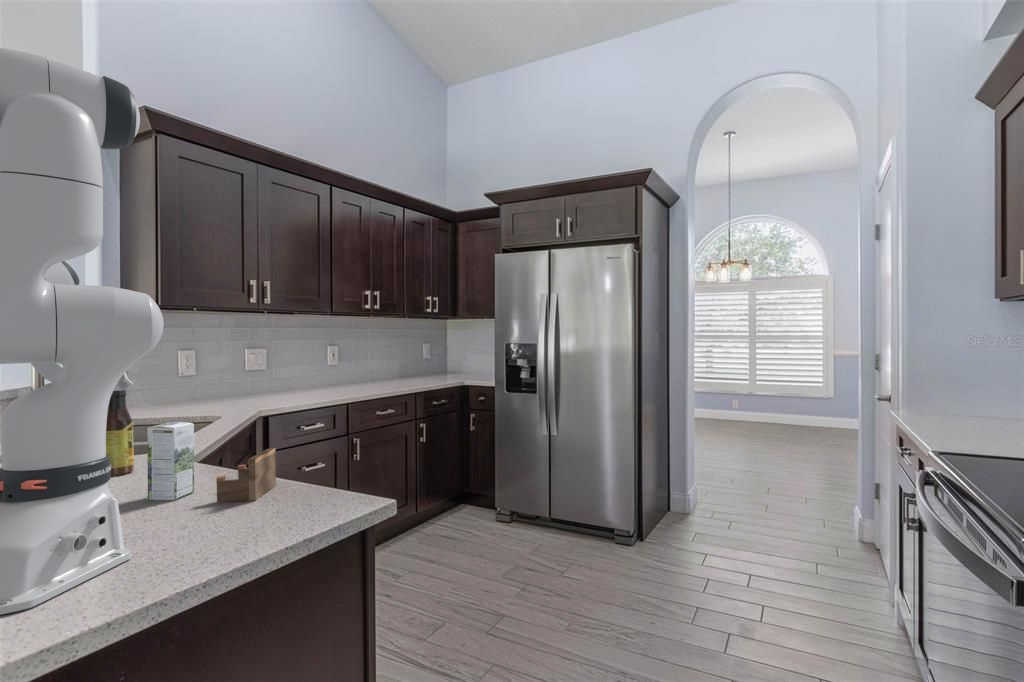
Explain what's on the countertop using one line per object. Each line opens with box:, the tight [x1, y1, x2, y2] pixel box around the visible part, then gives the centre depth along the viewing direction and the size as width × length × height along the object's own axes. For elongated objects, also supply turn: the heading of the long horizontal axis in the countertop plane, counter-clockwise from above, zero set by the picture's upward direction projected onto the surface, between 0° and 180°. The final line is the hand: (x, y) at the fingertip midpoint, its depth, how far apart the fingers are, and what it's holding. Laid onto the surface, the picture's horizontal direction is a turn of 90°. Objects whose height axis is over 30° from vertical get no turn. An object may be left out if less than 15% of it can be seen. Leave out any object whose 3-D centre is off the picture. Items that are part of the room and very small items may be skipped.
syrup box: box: [146, 421, 195, 502], centre depth 106 cm, size 6×6×14 cm
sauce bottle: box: [106, 388, 135, 477], centre depth 126 cm, size 7×6×20 cm
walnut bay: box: [216, 447, 277, 503], centre depth 107 cm, size 11×7×8 cm
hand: (114, 389), depth 105 cm, fingers open, 7 cm apart
